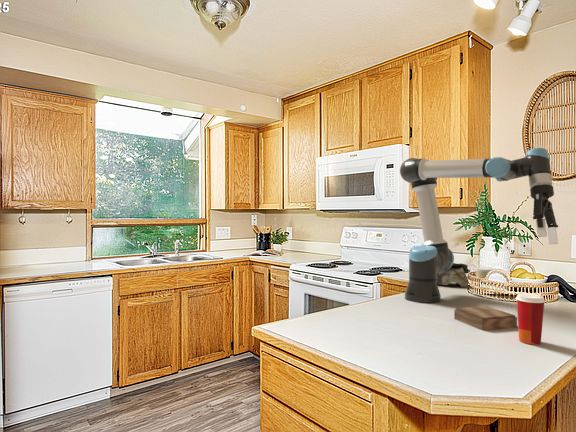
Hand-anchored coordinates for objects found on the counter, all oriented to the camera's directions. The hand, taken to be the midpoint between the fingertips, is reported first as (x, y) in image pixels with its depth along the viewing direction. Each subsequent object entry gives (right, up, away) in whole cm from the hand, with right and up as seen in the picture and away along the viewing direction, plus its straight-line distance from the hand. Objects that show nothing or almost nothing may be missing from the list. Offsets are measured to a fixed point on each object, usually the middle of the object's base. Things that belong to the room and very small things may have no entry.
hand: (548, 240), depth 147 cm
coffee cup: (-2, -28, +43) cm, 51 cm away
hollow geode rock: (-14, -28, +65) cm, 72 cm away
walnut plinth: (-27, -29, -7) cm, 40 cm away
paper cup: (-23, -29, -27) cm, 46 cm away
